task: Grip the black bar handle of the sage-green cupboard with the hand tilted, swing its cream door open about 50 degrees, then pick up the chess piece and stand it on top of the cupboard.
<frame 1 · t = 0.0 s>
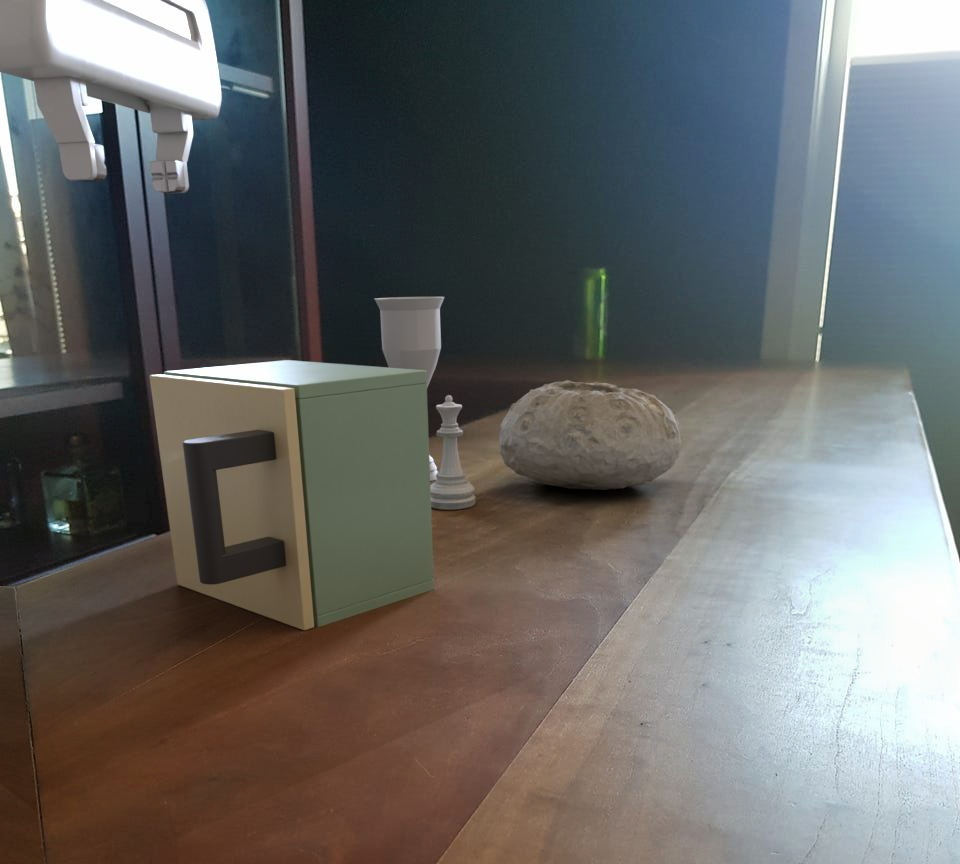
hand: (132, 187, 58), 25 cm above the worktop, tool pointing down, fingers open, 8 cm apart
chalice: (417, 479, 104), on the worktop
chess piece: (451, 506, 91), on the worktop
cupboard: (310, 586, 68), on the worktop
door: (192, 504, 60), point 7 cm above the worktop, hinge at 0.0°
decorative shell: (588, 488, 98), on the worktop
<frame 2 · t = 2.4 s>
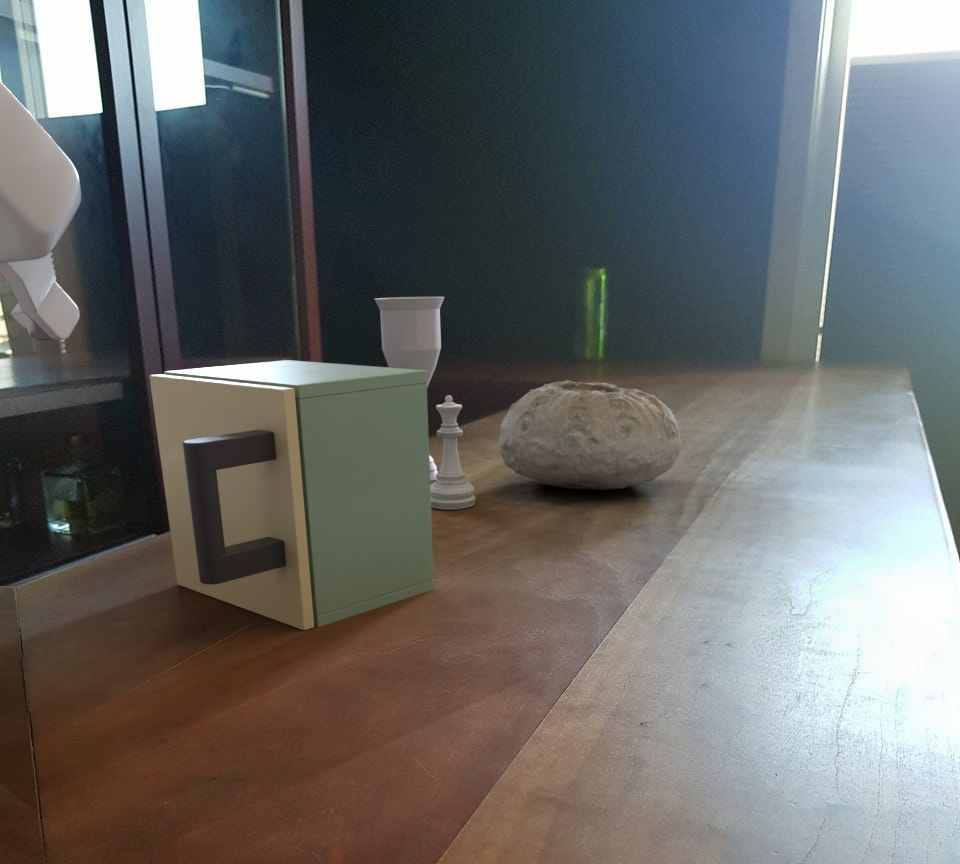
nothing on the worktop moved.
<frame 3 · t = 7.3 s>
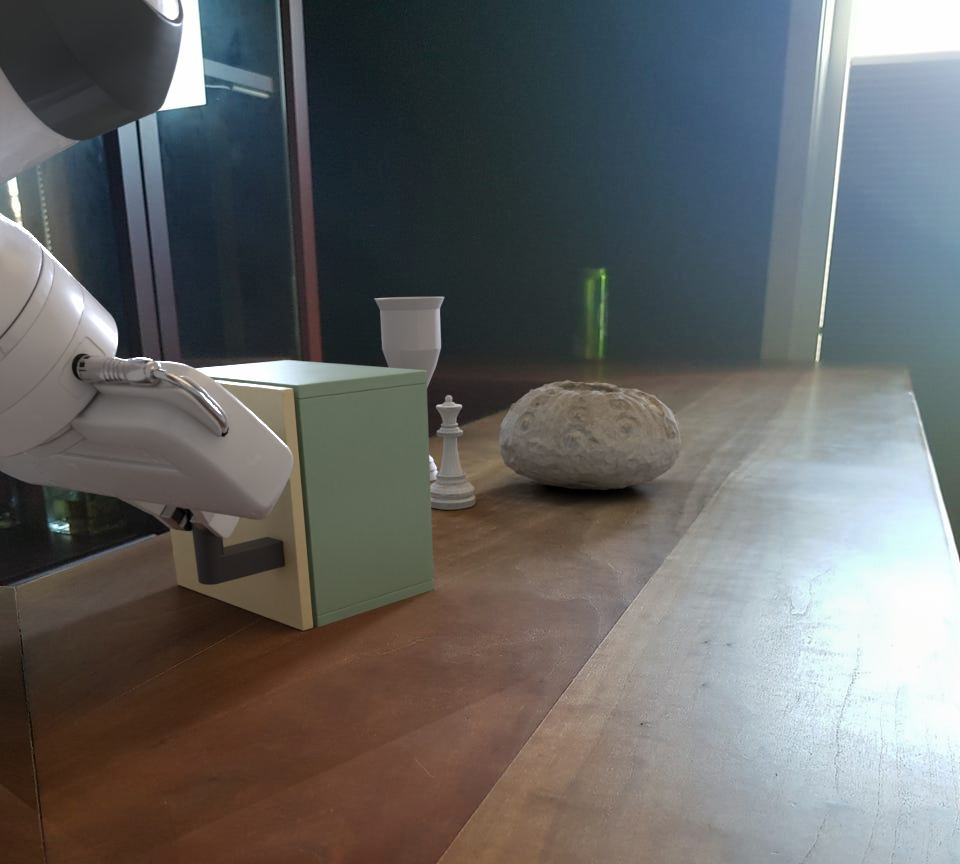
hand: (207, 523, 55), 7 cm above the worktop, tool tilted 45°, fingers closed on door, 2 cm apart
door: (191, 504, 60), point 7 cm above the worktop, hinge at 0.3°, touching gripper
everything else where it was.
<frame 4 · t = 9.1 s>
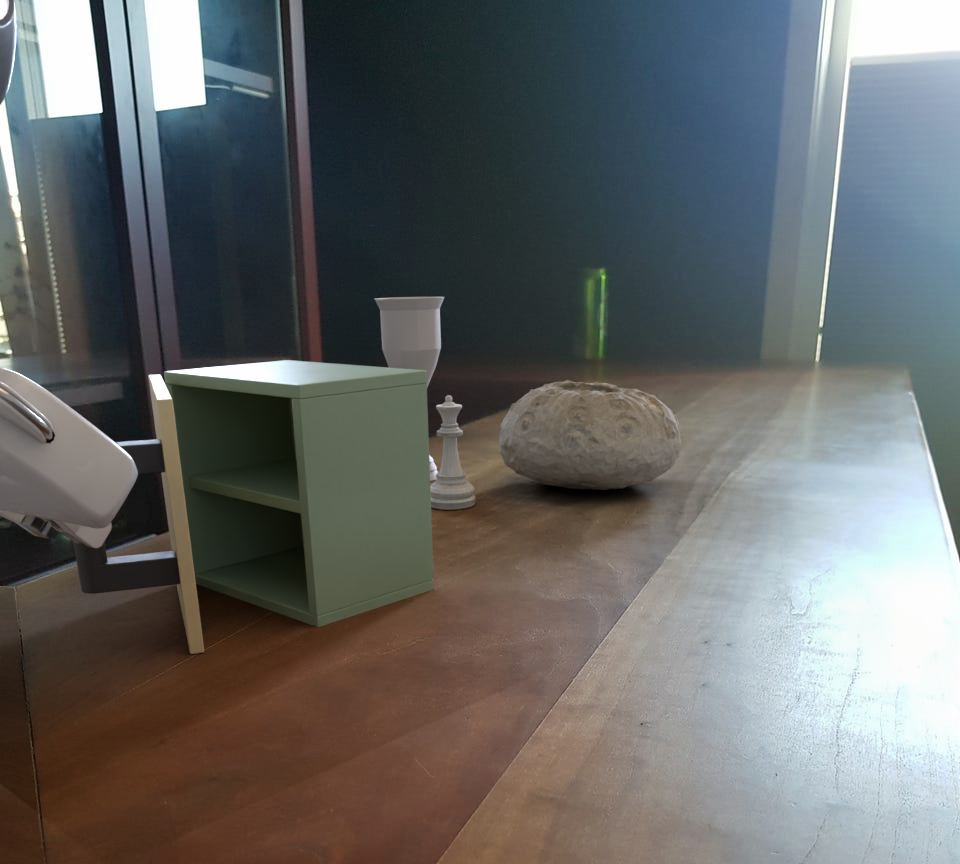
hand: (75, 531, 54), 7 cm above the worktop, tool tilted 45°, fingers closed
door: (129, 509, 59), point 7 cm above the worktop, hinge at 27.6°, touching gripper
everything else where it was.
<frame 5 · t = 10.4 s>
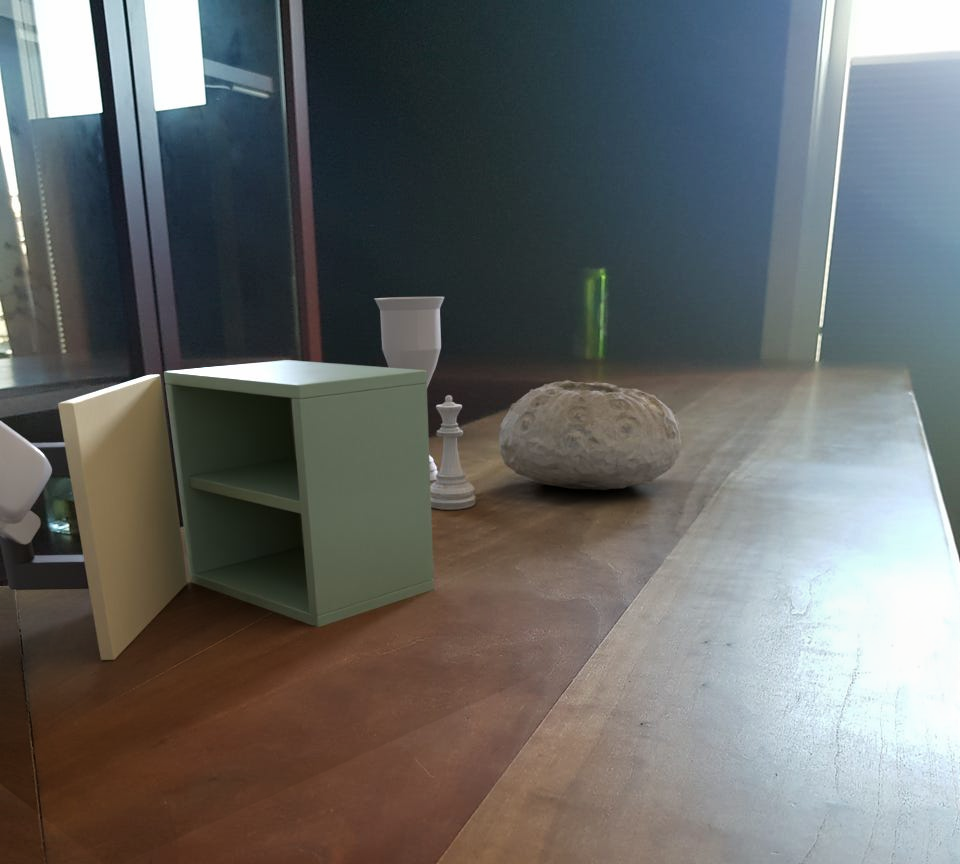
hand: (3, 527, 55), 7 cm above the worktop, tool tilted 45°, fingers open, 3 cm apart
door: (89, 508, 60), point 7 cm above the worktop, hinge at 47.1°, touching gripper
everything else where it was.
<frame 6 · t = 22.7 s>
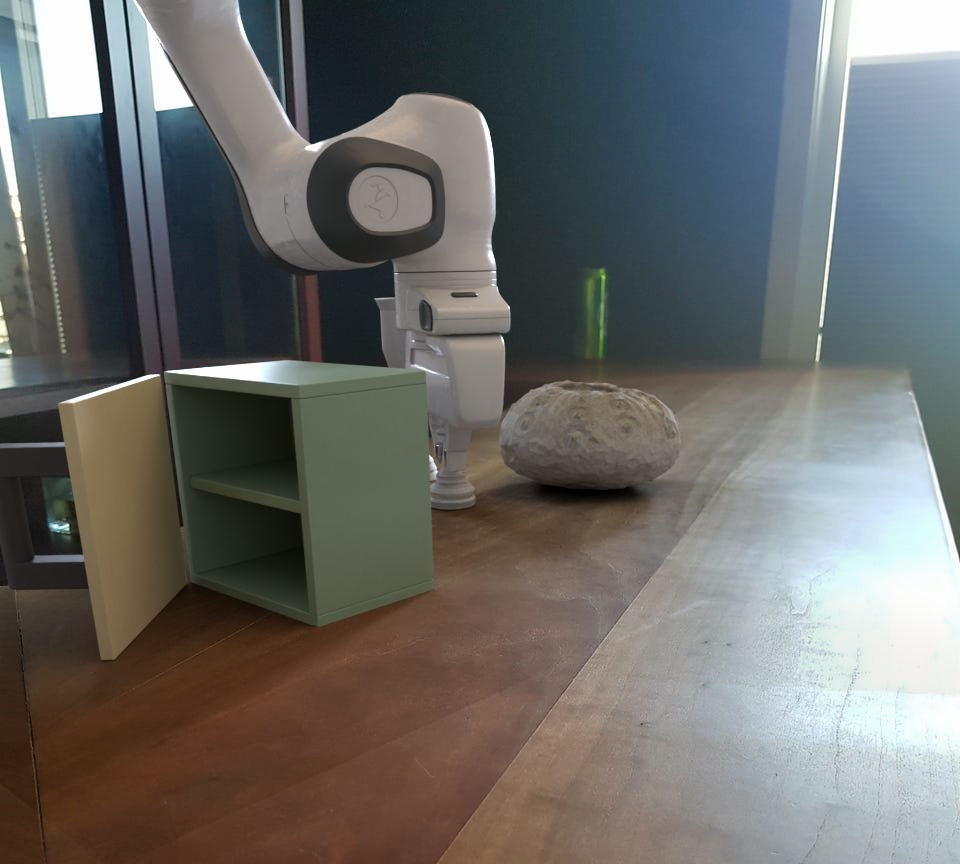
hand: (450, 466, 90), 4 cm above the worktop, tool pointing down, fingers closed on chess piece, 2 cm apart
chess piece: (452, 506, 91), on the worktop, touching gripper
door: (89, 508, 60), point 7 cm above the worktop, hinge at 47.1°
everything else where it was.
when the fingers open (18 cm above the worktop, at t = 29.4 s): chess piece stays where it is, resting on cupboard.
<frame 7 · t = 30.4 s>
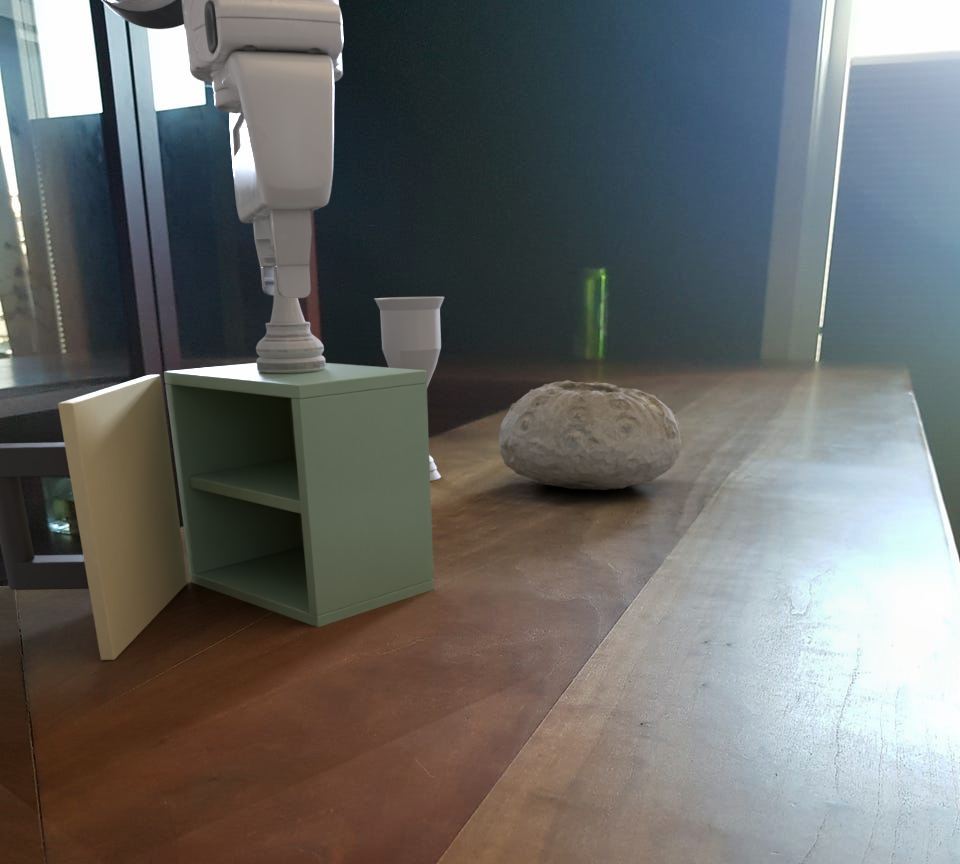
hand: (285, 296, 61), 19 cm above the worktop, tool pointing down, fingers open, 8 cm apart
chess piece: (292, 373, 63), point 14 cm above the worktop, touching cupboard
everything else where it was.
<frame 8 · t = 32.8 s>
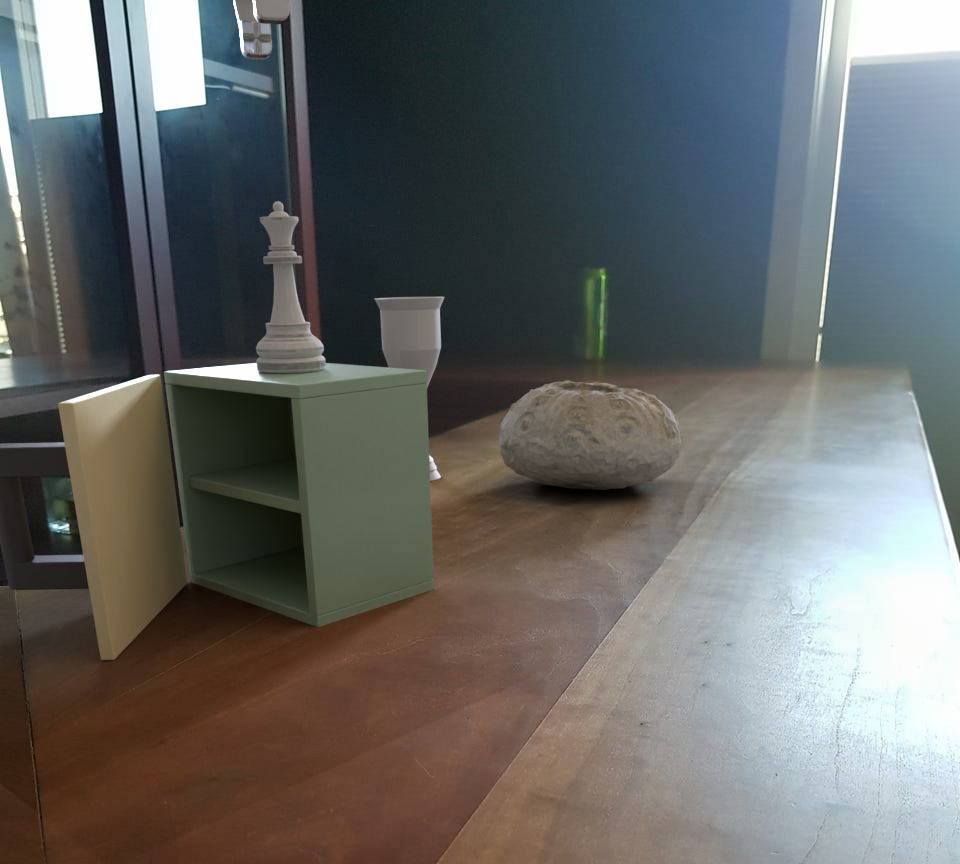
hand: (264, 40, 57), 33 cm above the worktop, tool pointing down, fingers open, 8 cm apart
nothing on the worktop moved.
at the end: door at +47° (first picture: +0°); chess piece inside the target area on the cupboard (0.1 cm from its centre), point 14.4 cm above the cupboard's base; chess piece tilted 0° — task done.
